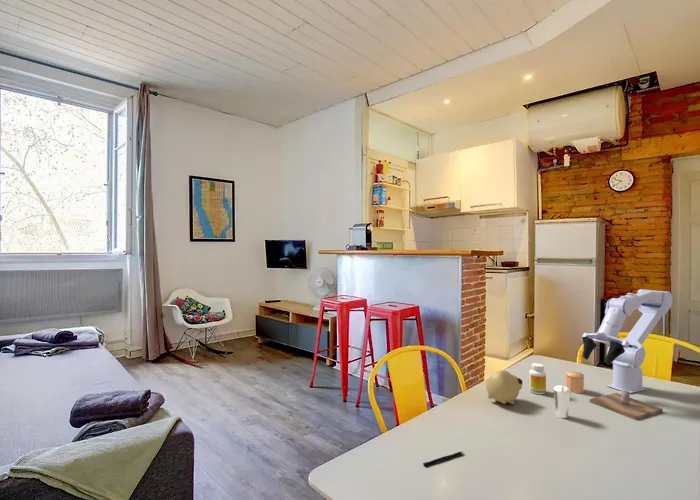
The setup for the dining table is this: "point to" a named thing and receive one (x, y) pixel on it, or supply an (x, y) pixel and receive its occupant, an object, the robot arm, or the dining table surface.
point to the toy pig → (503, 386)
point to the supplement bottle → (537, 379)
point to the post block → (626, 405)
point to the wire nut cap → (574, 381)
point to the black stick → (443, 459)
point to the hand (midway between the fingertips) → (595, 360)
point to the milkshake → (562, 400)
